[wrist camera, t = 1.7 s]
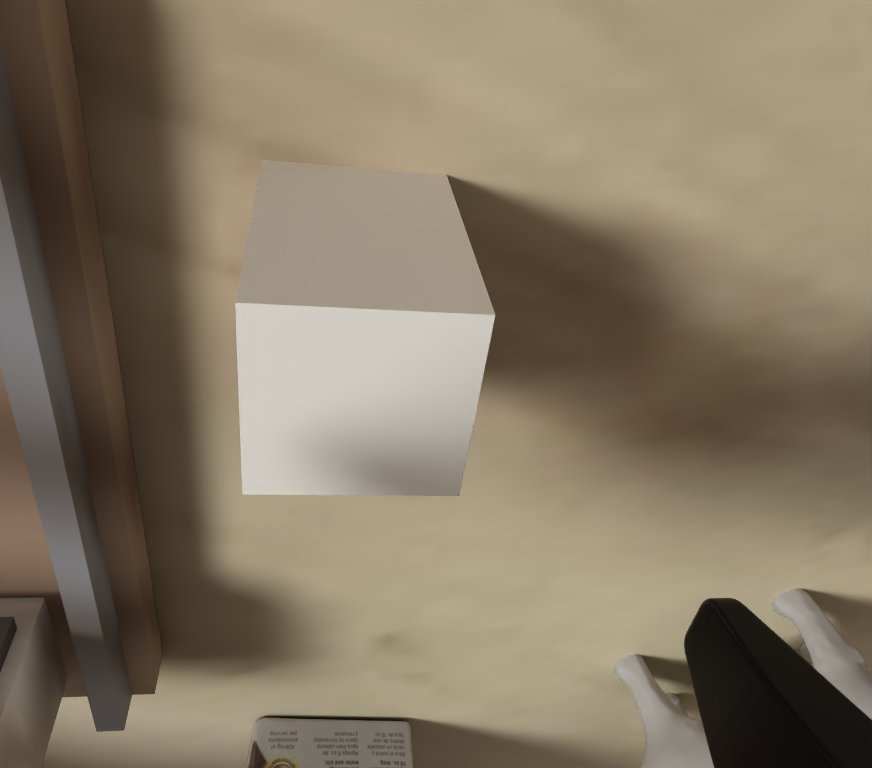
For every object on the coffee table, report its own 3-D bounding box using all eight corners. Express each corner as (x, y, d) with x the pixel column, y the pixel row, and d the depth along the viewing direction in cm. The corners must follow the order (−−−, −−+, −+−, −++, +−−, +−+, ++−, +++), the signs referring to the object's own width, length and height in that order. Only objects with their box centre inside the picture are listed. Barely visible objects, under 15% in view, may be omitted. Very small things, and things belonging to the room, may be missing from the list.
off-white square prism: (423, 343, 19) (455, 514, 14) (264, 336, 19) (242, 514, 14) (446, 174, 17) (495, 315, 12) (262, 160, 16) (235, 302, 11)
